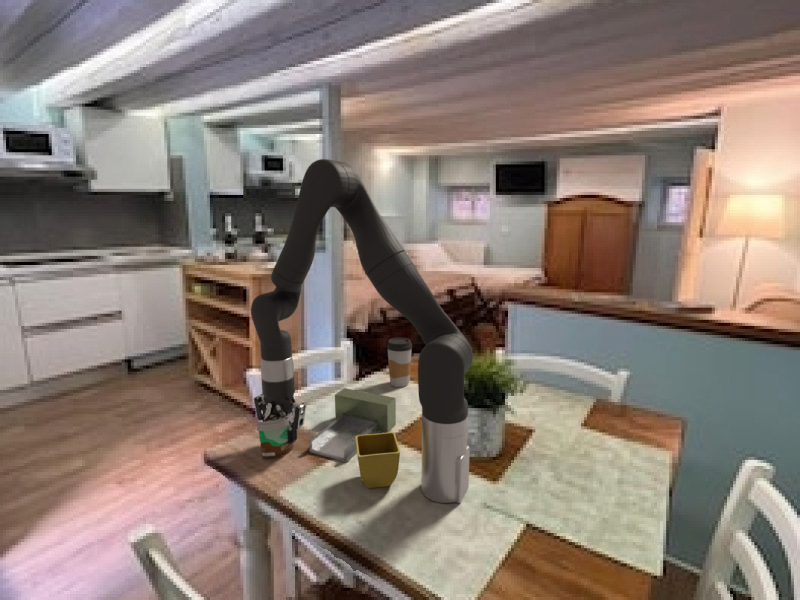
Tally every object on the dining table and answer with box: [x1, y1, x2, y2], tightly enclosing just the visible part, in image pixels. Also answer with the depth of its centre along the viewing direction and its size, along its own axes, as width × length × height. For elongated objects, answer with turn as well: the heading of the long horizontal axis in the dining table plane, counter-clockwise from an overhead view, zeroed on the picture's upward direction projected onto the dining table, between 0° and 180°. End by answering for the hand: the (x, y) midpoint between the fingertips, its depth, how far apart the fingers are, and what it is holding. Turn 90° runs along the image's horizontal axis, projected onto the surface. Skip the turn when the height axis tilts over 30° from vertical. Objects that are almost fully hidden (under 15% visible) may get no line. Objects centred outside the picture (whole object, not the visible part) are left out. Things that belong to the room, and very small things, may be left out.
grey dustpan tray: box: [308, 387, 397, 463], centre depth 114 cm, size 16×21×8 cm
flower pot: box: [355, 431, 401, 489], centre depth 95 cm, size 9×9×9 cm
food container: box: [256, 408, 294, 460], centre depth 108 cm, size 12×6×10 cm, turn 167°
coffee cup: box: [386, 337, 413, 388], centre depth 147 cm, size 8×8×15 cm
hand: (281, 439), depth 109 cm, fingers closed on food container, 5 cm apart
